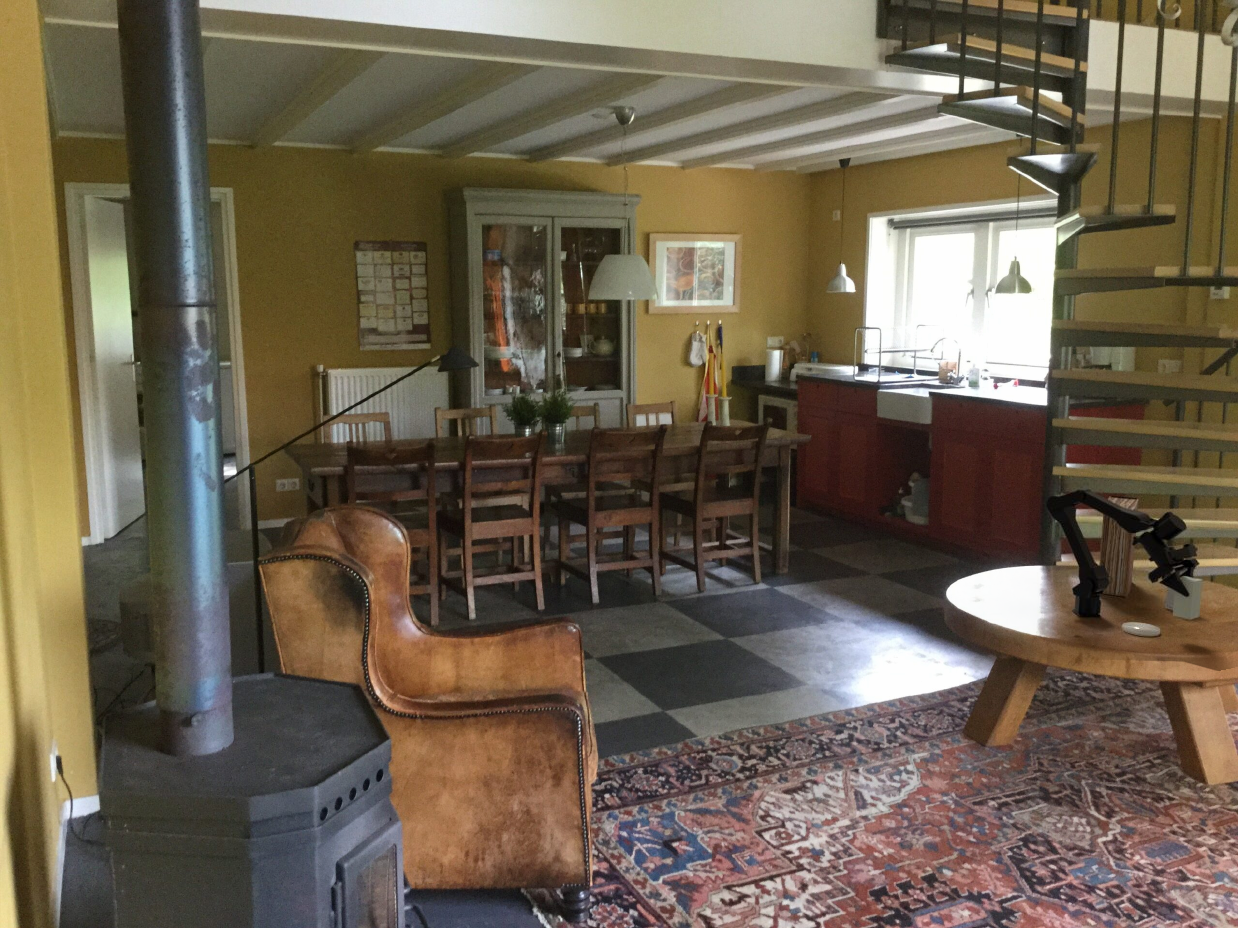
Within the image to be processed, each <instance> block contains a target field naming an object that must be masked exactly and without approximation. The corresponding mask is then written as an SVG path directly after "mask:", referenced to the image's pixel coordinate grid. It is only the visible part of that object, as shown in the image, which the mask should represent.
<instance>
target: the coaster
mask: <svg viewBox="0 0 1238 928" xmlns="http://www.w3.org/2000/svg"><path fill="white" fill-rule="evenodd" d="M1121 630H1122V632H1124V633H1128V634H1130V635H1135V636H1139V637H1140V636H1141V637H1157V636H1159V635H1160V634H1161V629H1160V627H1158V626H1156V625H1153V624H1149V623H1144V622H1137V621H1135V622H1133V621H1132V622H1131V621H1130V622H1124V623H1123V624H1122V626H1121Z"/></svg>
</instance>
